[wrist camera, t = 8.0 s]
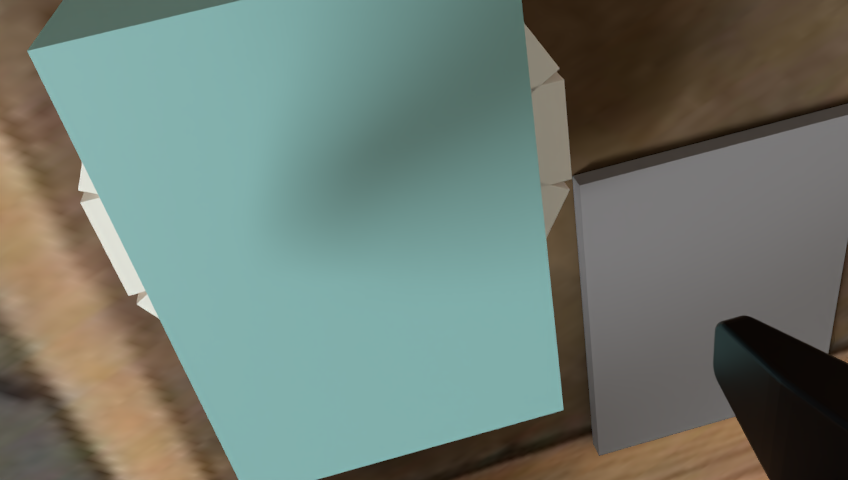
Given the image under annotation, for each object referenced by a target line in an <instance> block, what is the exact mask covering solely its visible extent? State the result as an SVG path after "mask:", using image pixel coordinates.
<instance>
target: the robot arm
mask: <svg viewBox="0 0 848 480" xmlns="http://www.w3.org/2000/svg"><path fill="white" fill-rule="evenodd" d="M713 369H714V374H715V377H716V380H717V382H718V384H719V386H720V388H721V390H722V391H723V393H724V395H725V397H726V399H727V401H728V403H729V405H730V407H731V409H732V410H733V412H734V414H735V416H736V418H737V420H738V422H739V424H740V426H741V428H742V429H743V431H744V433H745V435H746V437H747V439H748V441H749V443H750V445H751V447H752V448H753V450H754V452H755V454H756V456H757V458H758V460H759V462H760V464H761V465H762V467H763V469H764V471H765V472H766V474H767V476H768V478H769V479H770V480H848V363H846V362H844V361H842V360H840V359H838V358H836V357H834V356H832V355H830V354H828V353H825V352H823V351H821V350H819V349H817V348H815V347H813V346H811V345H809V344H807V343H805V342H803V341H801V340H798V339H796V338H794V337H792V336H790V335H788V334H786V333H784V332H782V331H780V330H778V329H776V328H774V327H772V326H769V325H767V324H765V323H763V322H761V321H759V320H757V319H755V318H753V317H750V316H746V315H742V316H738V317H734V318H731V319H727V320H724V321H721V322H719V323H718V324H717V325H716V327H715V336H714V354H713Z"/></svg>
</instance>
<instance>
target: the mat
mask: <svg viewBox="0 0 848 480" xmlns="http://www.w3.org/2000/svg"><path fill="white" fill-rule="evenodd" d="M572 178H573V191H574V204H575V217H576V230H577V243H578V256H579V268H580V281H581V294H582V307H583V320H584V333H585V346H586V359H587V371H588V384H589V397H590V410H591V423H592V436H593V445H594V446H595V448H596V450H597V452H598V454H599V456H600V455H603V454H607V453H610V452H614V451H617V450H621V449H624V448H628V447H631V446H635V445H638V444H642V443H645V442H649V441H652V440H655V439H659V438H662V437H666V436H669V435H673V434H676V433H680V432H683V431H687V430H690V429H694V428H697V427H701V426H704V425H707V424H711V423H714V422H718V421H721V420H725V419H728V418H732V417H735V414H734V412H733V410H732V409H731V407H730V405H729V403H728V401H727V399H726V397H725V395H724V393H723V391H722V390H721V388H720V386H719V384H718V382H717V380H716V377H715V374H714V369H713V354H714V336H715V327H716V325H717V324H718V323H719V322H721V321H724V320H727V319H731V318H734V317H738V316H742V315H746V316H750V317H753V318H755V319H757V320H759V321H761V322H763V323H765V324H767V325H769V326H772V327H774V328H776V329H778V330H780V331H782V332H784V333H786V334H788V335H790V336H792V337H794V338H796V339H798V340H801V341H803V342H805V343H807V344H809V345H811V346H813V347H815V348H817V349H819V350H821V351H823V352H825V353H828V352H829V347H830V341H831V335H832V329H833V323H834V317H835V311H836V306H837V300H838V294H839V288H840V282H841V276H842V270H843V265H844V259H845V253H846V247H847V241H848V104H844V105H840V106H836V107H833V108H829V109H825V110H821V111H817V112H814V113H810V114H806V115H802V116H798V117H795V118H791V119H787V120H783V121H779V122H776V123H772V124H768V125H764V126H760V127H757V128H753V129H749V130H745V131H741V132H738V133H734V134H730V135H726V136H722V137H719V138H715V139H711V140H707V141H703V142H700V143H696V144H692V145H688V146H684V147H681V148H677V149H673V150H669V151H665V152H662V153H658V154H654V155H650V156H646V157H643V158H639V159H635V160H631V161H627V162H624V163H620V164H616V165H612V166H608V167H604V168H601V169H597V170H593V171H589V172H585V173H582V174H578V175H574V176H572Z"/></svg>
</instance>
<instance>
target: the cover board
mask: <svg viewBox="0 0 848 480" xmlns="http://www.w3.org/2000/svg"><path fill="white" fill-rule="evenodd" d="M28 53H29V55H30V57H31V59H32V61H33V63H34V65H35V68H36V70H37V72H38V74H39V76H40V78H41V80H42V82H43V84H44V86H45V88H46V90H47V92H48V94H49V96H50V98H51V100H52V102H53V104H54V106H55V108H56V110H57V112H58V114H59V116H60V118H61V120H62V122H63V124H64V126H65V128H66V130H67V132H68V134H69V136H70V139H71V141H72V143H73V145H74V147H75V149H76V151H77V153H78V155H79V157H80V159H81V161H82V163H83V165H84V167H85V169H86V171H87V173H88V175H89V177H90V179H91V181H92V183H93V185H94V187H95V189H96V191H97V193H98V195H99V197H100V199H101V201H102V203H103V205H104V207H105V210H106V212H107V214H108V216H109V218H110V220H111V222H112V224H113V226H114V228H115V230H116V232H117V234H118V236H119V238H120V240H121V242H122V244H123V246H124V248H125V250H126V252H127V254H128V256H129V258H130V260H131V262H132V264H133V266H134V268H135V270H136V272H137V274H138V276H139V278H140V281H141V283H142V285H143V287H144V289H145V291H146V293H147V295H148V297H149V299H150V301H151V303H152V305H153V307H154V309H155V311H156V313H157V315H158V317H159V319H160V321H161V323H162V325H163V327H164V329H165V331H166V333H167V335H168V337H169V339H170V341H171V343H172V345H173V347H174V350H175V352H176V354H177V356H178V358H179V360H180V362H181V364H182V366H183V368H184V370H185V372H186V374H187V376H188V378H189V380H190V382H191V384H192V386H193V388H194V390H195V392H196V394H197V396H198V398H199V400H200V402H201V404H202V406H203V408H204V410H205V412H206V414H207V416H208V418H209V421H210V423H211V425H212V427H213V429H214V431H215V433H216V435H217V437H218V439H219V441H220V443H221V445H222V447H223V449H224V451H225V453H226V455H227V457H228V459H229V461H230V463H231V465H232V467H233V469H234V471H235V473H236V475H237V477H238V479H239V480H317V479H321V478H324V477H328V476H332V475H335V474H339V473H342V472H346V471H349V470H353V469H356V468H360V467H364V466H367V465H371V464H374V463H378V462H381V461H385V460H388V459H392V458H395V457H399V456H403V455H406V454H410V453H413V452H417V451H420V450H424V449H427V448H431V447H435V446H438V445H442V444H445V443H449V442H452V441H456V440H459V439H463V438H467V437H470V436H474V435H477V434H481V433H484V432H488V431H491V430H495V429H499V428H502V427H506V426H509V425H513V424H516V423H520V422H523V421H527V420H531V419H534V418H538V417H541V416H545V415H548V414H552V413H555V412H559V411H563V410H564V409H563V399H562V389H561V380H560V370H559V360H558V350H557V341H556V331H555V321H554V311H553V302H552V292H551V282H550V272H549V263H548V253H547V243H546V233H545V224H544V214H543V204H542V194H541V185H540V175H539V165H538V155H537V146H536V136H535V126H534V116H533V107H532V97H531V87H530V77H529V68H528V58H527V48H526V38H525V29H524V19H523V9H522V0H63V1H62V3H61V4H60V5H59V7H58V8H57V10H56V11H55V12H54V14H53V15H52V17H51V18H50V20H49V21H48V22H47V24H46V25H45V27H44V28H43V29H42V31H41V32H40V34H39V35H38V36H37V38H36V39H35V41H34V42H33V44H32V45H31V46H30V48H29V49H28Z"/></svg>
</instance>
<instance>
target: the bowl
mask: <svg viewBox="0 0 848 480" xmlns="http://www.w3.org/2000/svg"><path fill="white" fill-rule="evenodd" d="M524 29H525V38H526V48H527V58H528V68H529V77H530V87H531V97H532V107H533V116H534V126H535V136H536V146H537V155H538V165H539V175H540V185H541V194H542V204H543V214H544V224H545V233H546V237H547V235H548V233H549V231H550V229H551V227H552V225H553V223H554V221H555V219H556V217H557V215H558V213H559V211H560V209H561V207H562V205H563V203H564V201H565V198H566V196H567V194H568V192H569V190H570V189H569V188H568V187H567V185H566V184H565V183H564V181H567V180H570V179H572V174H571V161H570V148H569V135H568V123H567V110H566V97H565V84H564V79H563V78H562V77H561V76H560V75H559V74H558V73H557V72H556V71H558V70H559V69H560V68H559V67H558V65H557V64H556V63H555V62H554V60H553V59H552V58H551V57H550V55H549V54H548V53H547V51H546V50H545V49H544V48H543V46H542V45H541V44H540V43H539V41H538V40H537V39H536V37H535V36H534V35H533V34H532V32H531V31H530V30H529V29H528V27H527V26H526V25H525V24H524ZM78 191H84V194H83V197H82V199H81V202H80V203H81V205H82V207H83V208H84V210H85V212H86V214H87V216H88V218H89V220H90V222H91V224H92V226H93V228H94V230H95V232H96V234H97V236H98V238H99V239H100V241H101V243H102V245H103V247H104V249H105V251H106V253H107V255H108V257H109V259H110V261H111V263H112V265H113V267H114V269H115V270H116V272H117V274H118V276H119V278H120V280H121V282H122V284H123V286H124V288H125V290H126V292H127V294H128V296H130V295H133V294H137V293H139V294H138V299H137V305H139V306H140V307H142V308H143V309H145V310H146V311H148V312H150V313H151V314H153V315H154V316H156V317H158V315H157V313H156V311H155V309H154V307H153V305H152V303H151V301H150V299H149V297H148V295H147V293H146V291H145V289H144V287H143V285H142V283H141V281H140V278H139V276H138V274H137V272H136V270H135V268H134V266H133V264H132V262H131V260H130V258H129V256H128V254H127V252H126V250H125V248H124V246H123V244H122V242H121V240H120V238H119V236H118V234H117V232H116V230H115V228H114V226H113V224H112V222H111V220H110V218H109V216H108V214H107V212H106V210H105V207H104V205H103V203H102V201H101V199H100V197H99V195H98V193H97V191H96V189H95V187H94V185H93V183H92V181H91V179H90V177H89V175H88V173H87V171H86V169H85V167H84V165H83V163H82V167H81V174H80V181H79V188H78ZM158 318H159V317H158Z"/></svg>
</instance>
